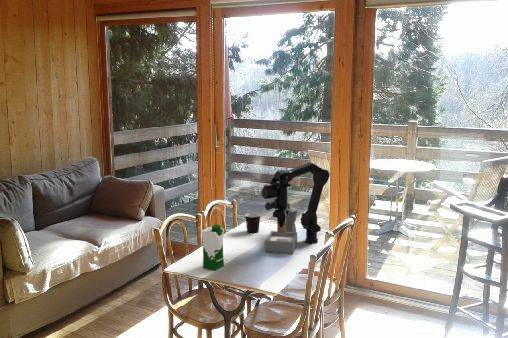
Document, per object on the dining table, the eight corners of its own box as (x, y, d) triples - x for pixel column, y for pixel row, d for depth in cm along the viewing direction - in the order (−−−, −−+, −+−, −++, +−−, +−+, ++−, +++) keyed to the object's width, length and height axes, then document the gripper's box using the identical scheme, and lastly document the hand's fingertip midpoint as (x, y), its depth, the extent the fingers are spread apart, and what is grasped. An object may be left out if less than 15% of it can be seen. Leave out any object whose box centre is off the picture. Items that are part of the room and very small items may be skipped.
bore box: (271, 241, 254) (271, 231, 252) (297, 243, 251) (297, 232, 250) (265, 252, 238) (265, 240, 237) (293, 254, 235) (293, 242, 234)
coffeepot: (302, 237, 260) (302, 205, 257) (288, 240, 256) (288, 207, 252) (287, 229, 273) (287, 199, 270) (273, 232, 269) (273, 201, 266)
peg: (278, 230, 245) (278, 213, 244) (286, 230, 244) (286, 213, 243) (277, 232, 241) (277, 215, 240) (285, 233, 241) (285, 215, 239)
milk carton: (215, 272, 214) (214, 229, 211) (199, 268, 219) (198, 226, 215) (226, 265, 222) (226, 224, 218) (211, 261, 226) (209, 221, 223)
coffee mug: (246, 229, 275) (246, 212, 273) (261, 229, 274) (261, 213, 272) (243, 235, 264) (243, 218, 262) (258, 236, 263) (258, 218, 261)
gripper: (269, 191, 250) (269, 219, 253) (262, 200, 232) (262, 230, 235) (290, 192, 248) (290, 220, 251) (285, 201, 230) (285, 232, 233)
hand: (281, 225), depth 242 cm, fingers closed on peg, 4 cm apart
